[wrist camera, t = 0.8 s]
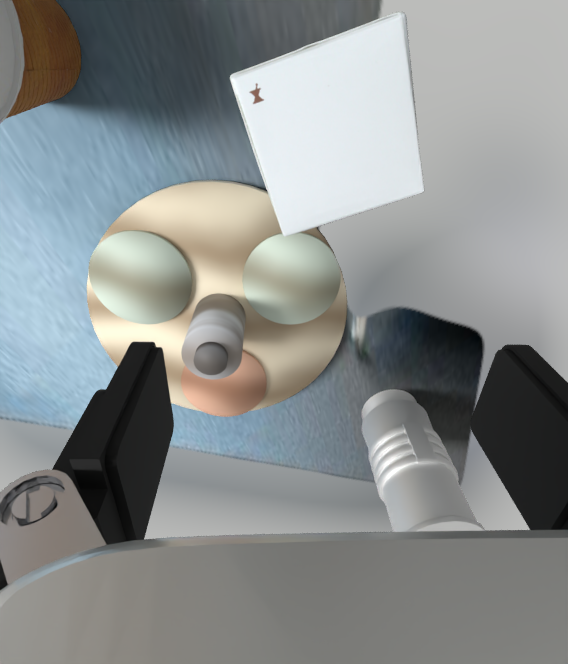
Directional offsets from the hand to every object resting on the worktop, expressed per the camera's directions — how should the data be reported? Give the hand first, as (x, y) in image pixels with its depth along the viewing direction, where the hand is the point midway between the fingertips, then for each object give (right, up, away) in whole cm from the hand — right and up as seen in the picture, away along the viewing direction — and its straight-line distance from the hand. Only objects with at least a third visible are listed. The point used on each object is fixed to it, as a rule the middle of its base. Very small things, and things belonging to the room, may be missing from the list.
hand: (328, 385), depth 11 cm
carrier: (-7, +3, +24) cm, 25 cm away
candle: (+10, -7, +31) cm, 33 cm away
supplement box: (0, +17, +17) cm, 24 cm away
